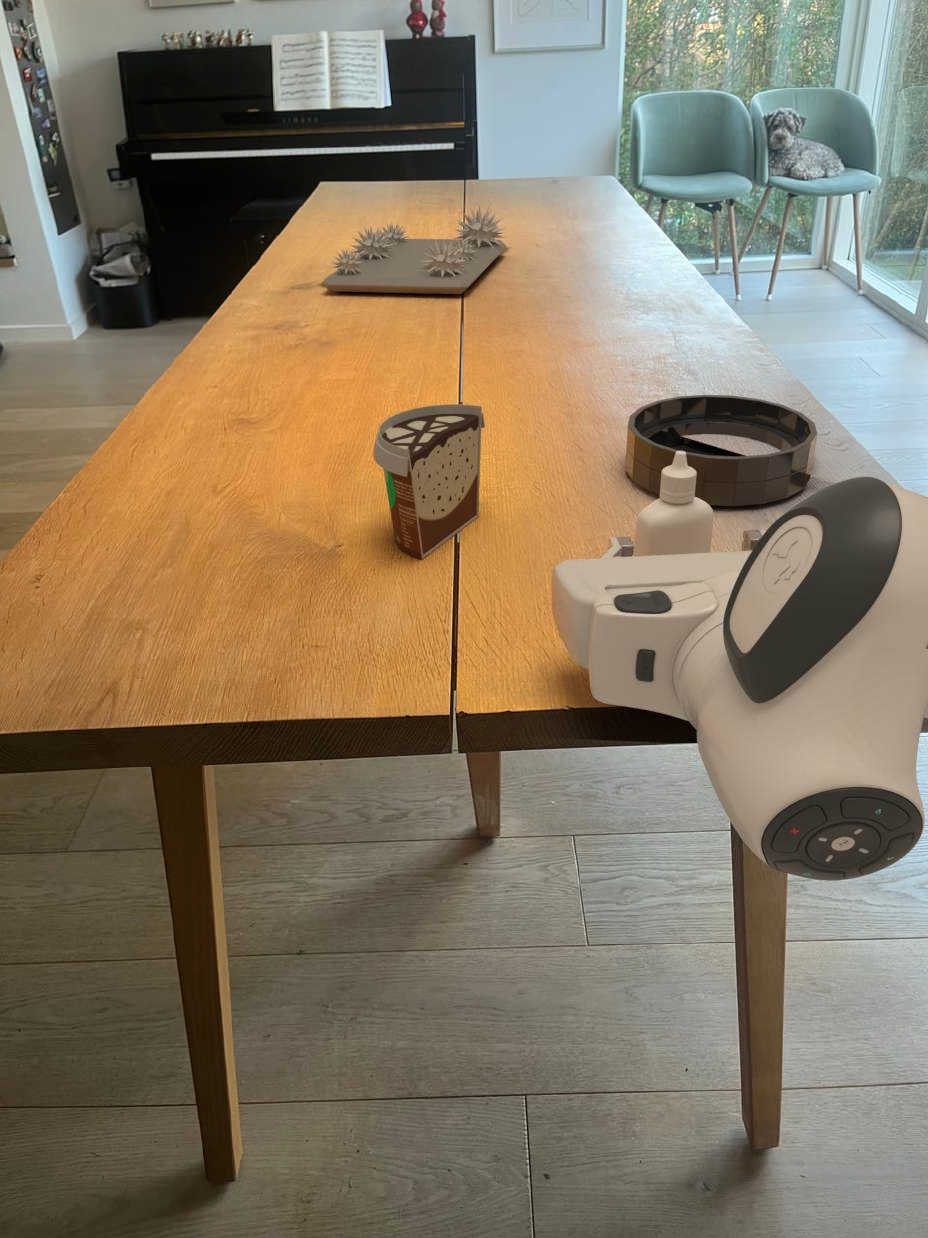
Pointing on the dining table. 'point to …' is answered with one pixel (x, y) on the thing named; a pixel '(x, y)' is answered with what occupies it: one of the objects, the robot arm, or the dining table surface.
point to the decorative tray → (418, 260)
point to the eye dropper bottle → (675, 516)
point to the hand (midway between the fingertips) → (685, 542)
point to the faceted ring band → (720, 469)
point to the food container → (431, 473)
